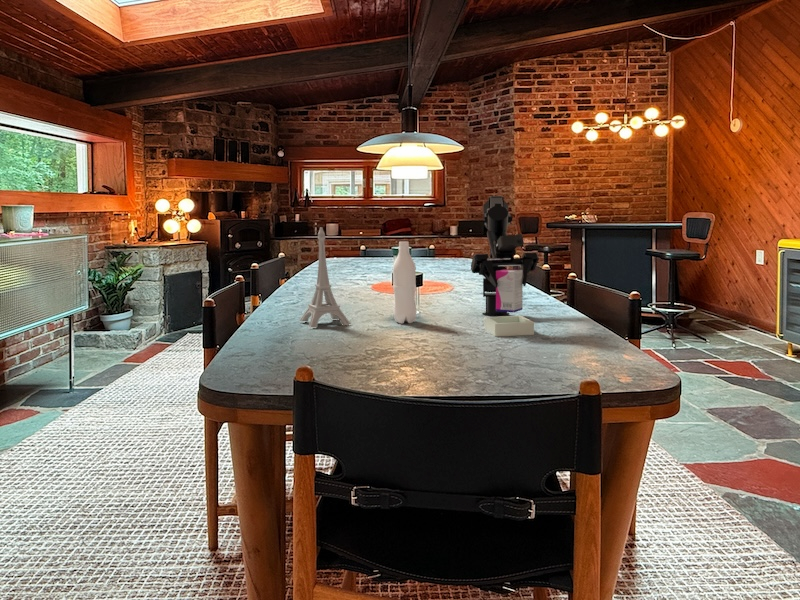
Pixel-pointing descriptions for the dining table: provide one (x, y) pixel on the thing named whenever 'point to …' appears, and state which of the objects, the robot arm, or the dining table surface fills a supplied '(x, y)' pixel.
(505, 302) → the supplement box
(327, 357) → the dining table surface
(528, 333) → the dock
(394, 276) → the water bottle
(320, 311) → the eiffel tower
